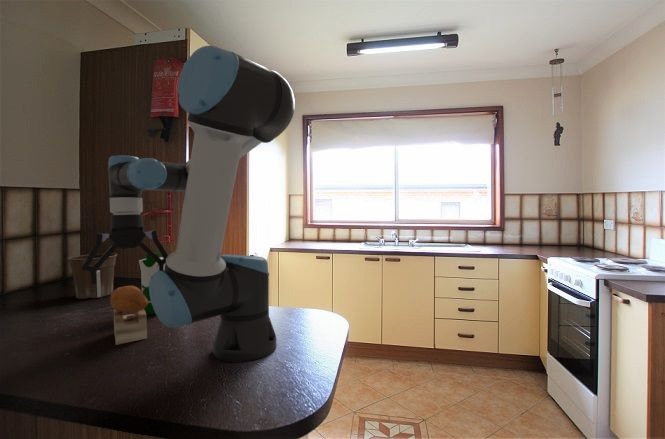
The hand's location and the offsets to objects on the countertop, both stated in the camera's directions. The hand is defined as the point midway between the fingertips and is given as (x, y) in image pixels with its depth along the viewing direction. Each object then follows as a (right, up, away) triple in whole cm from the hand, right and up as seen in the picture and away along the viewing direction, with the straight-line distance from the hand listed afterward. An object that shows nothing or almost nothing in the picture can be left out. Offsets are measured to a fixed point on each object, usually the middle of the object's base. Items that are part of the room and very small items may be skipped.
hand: (129, 292), depth 90 cm
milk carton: (-4, -12, +22) cm, 26 cm away
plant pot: (-41, -11, +44) cm, 61 cm away
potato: (0, -6, 0) cm, 6 cm away
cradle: (0, -12, +1) cm, 12 cm away
